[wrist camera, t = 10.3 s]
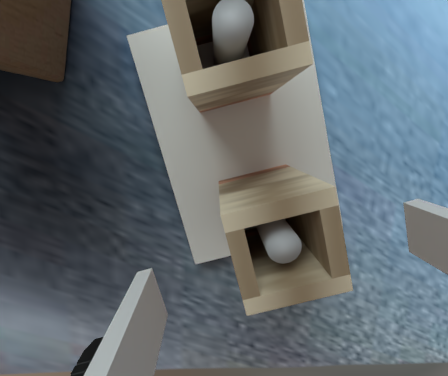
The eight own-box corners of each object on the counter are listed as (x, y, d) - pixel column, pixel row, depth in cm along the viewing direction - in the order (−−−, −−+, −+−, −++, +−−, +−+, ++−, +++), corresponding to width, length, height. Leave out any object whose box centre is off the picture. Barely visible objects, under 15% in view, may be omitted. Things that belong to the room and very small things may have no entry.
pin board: (197, 254, 27) (184, 335, 16) (134, 44, 23) (62, -35, 12) (333, 220, 27) (413, 279, 16) (294, 0, 23) (364, -119, 12)
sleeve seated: (199, 112, 22) (187, 97, 13) (179, 36, 21) (148, -48, 11) (270, 94, 22) (313, 63, 12) (254, 15, 21) (287, -87, 11)
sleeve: (234, 243, 25) (246, 315, 15) (218, 181, 24) (220, 215, 14) (298, 227, 25) (353, 290, 15) (285, 164, 23) (335, 186, 14)
